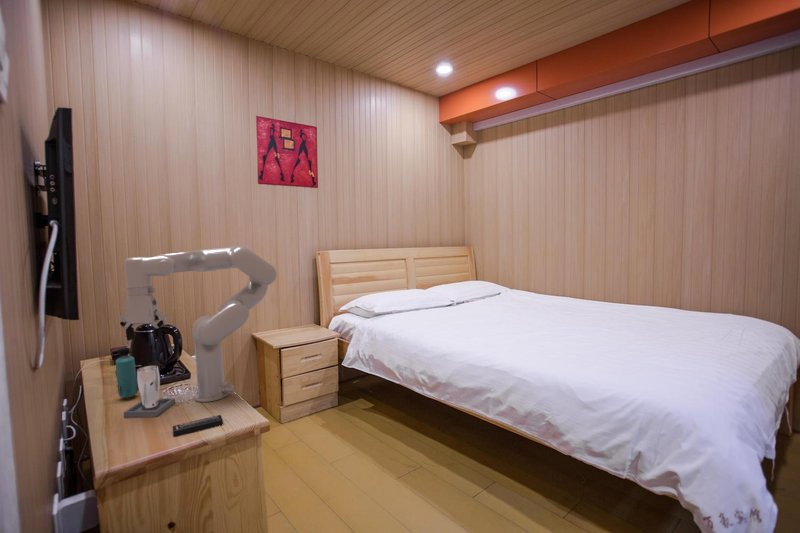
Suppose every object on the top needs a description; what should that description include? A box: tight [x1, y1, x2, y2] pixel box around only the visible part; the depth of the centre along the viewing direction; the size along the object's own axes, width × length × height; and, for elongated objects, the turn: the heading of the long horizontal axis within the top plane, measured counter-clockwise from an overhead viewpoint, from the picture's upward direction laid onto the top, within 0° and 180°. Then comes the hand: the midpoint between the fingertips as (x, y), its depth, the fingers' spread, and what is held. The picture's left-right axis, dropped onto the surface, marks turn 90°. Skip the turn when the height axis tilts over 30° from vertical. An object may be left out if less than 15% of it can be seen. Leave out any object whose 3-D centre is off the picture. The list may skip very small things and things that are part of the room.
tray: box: [123, 397, 176, 419], centre depth 153 cm, size 12×12×2 cm
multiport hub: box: [172, 414, 224, 438], centre depth 137 cm, size 4×14×2 cm, turn 121°
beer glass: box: [136, 365, 161, 411], centre depth 152 cm, size 7×7×15 cm
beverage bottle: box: [114, 347, 139, 398], centre depth 164 cm, size 6×7×20 cm
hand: (144, 339), depth 150 cm, fingers open, 9 cm apart
